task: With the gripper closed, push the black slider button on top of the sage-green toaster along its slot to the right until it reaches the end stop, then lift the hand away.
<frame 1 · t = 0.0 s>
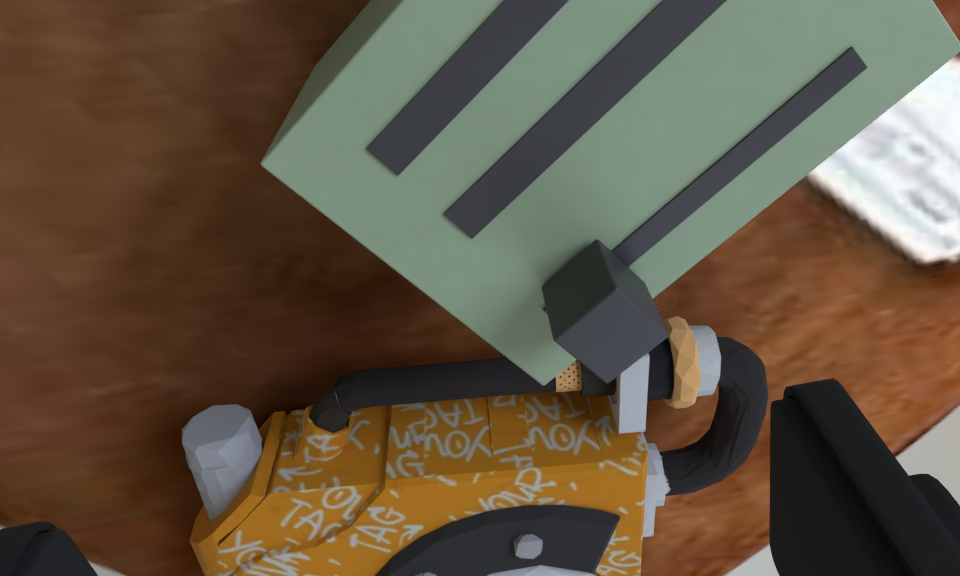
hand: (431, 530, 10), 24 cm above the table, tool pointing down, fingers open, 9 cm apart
device: (463, 460, 43), on the table
toaster: (554, 25, 30), on the table
slider: (601, 310, 22), point 13 cm above the table, slide at 0.0 cm
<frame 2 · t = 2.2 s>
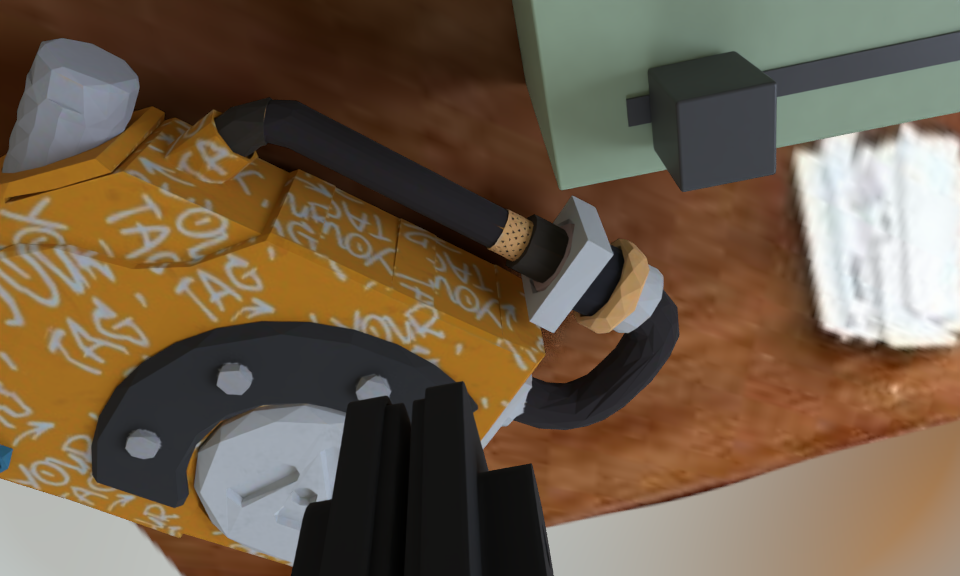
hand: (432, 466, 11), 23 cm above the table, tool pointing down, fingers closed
device: (312, 292, 37), on the table
slider: (709, 119, 19), point 13 cm above the table, slide at 0.0 cm
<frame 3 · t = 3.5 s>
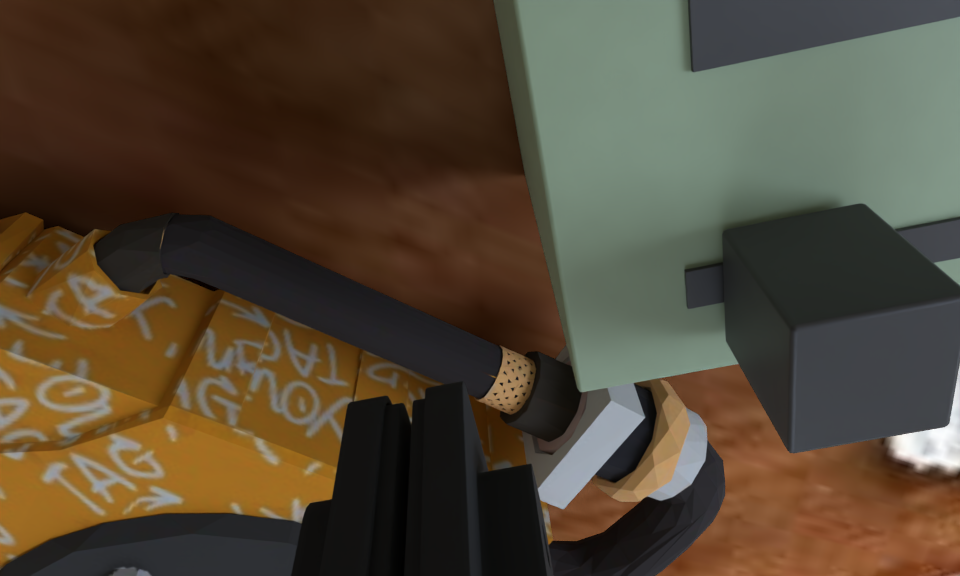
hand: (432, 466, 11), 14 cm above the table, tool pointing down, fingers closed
device: (256, 423, 29), on the table
slider: (828, 322, 12), point 13 cm above the table, slide at 0.0 cm
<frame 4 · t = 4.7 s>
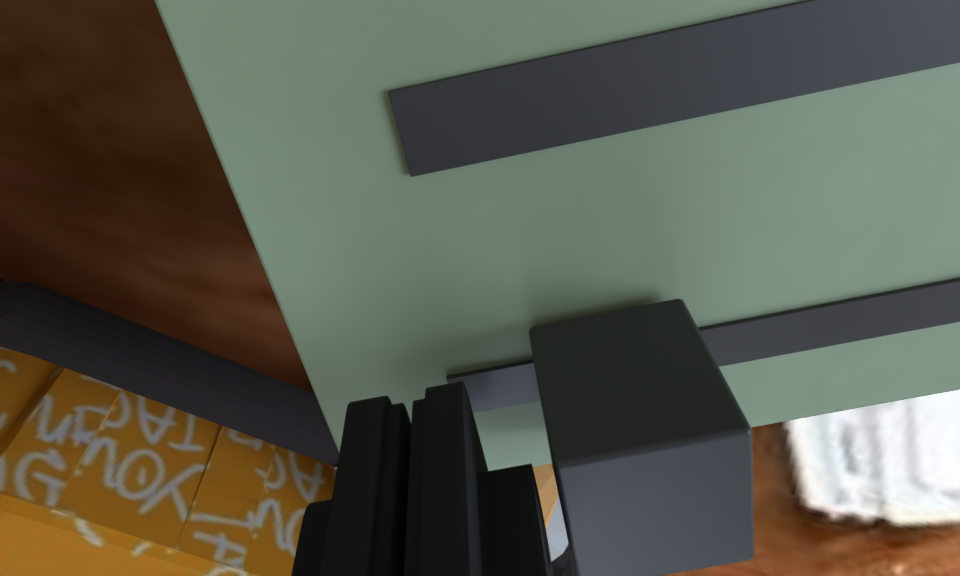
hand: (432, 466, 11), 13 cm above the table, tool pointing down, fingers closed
device: (136, 477, 28), on the table
slider: (633, 435, 11), point 13 cm above the table, slide at 0.9 cm, touching gripper
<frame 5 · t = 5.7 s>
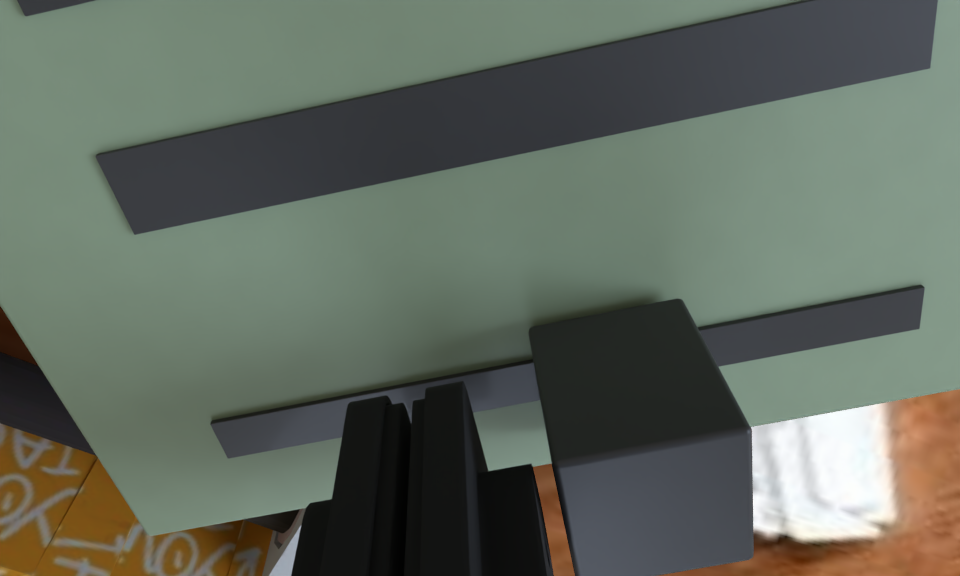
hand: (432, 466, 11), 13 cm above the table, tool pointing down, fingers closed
device: (36, 496, 28), on the table
slider: (633, 435, 11), point 13 cm above the table, slide at 4.8 cm, touching gripper
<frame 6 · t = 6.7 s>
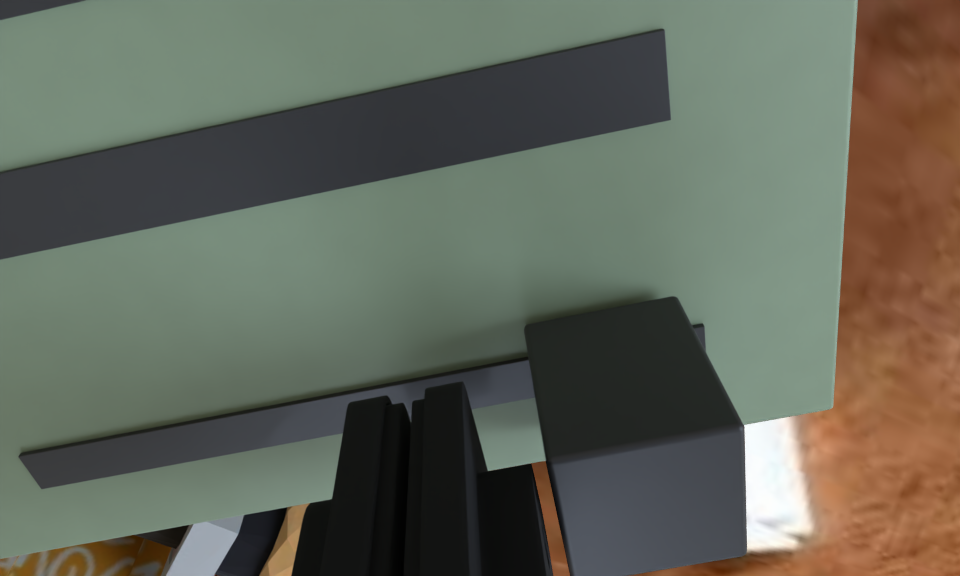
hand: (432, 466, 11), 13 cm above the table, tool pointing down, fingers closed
toaster: (355, 25, 20), on the table
slider: (627, 432, 11), point 13 cm above the table, slide at 8.2 cm, touching gripper
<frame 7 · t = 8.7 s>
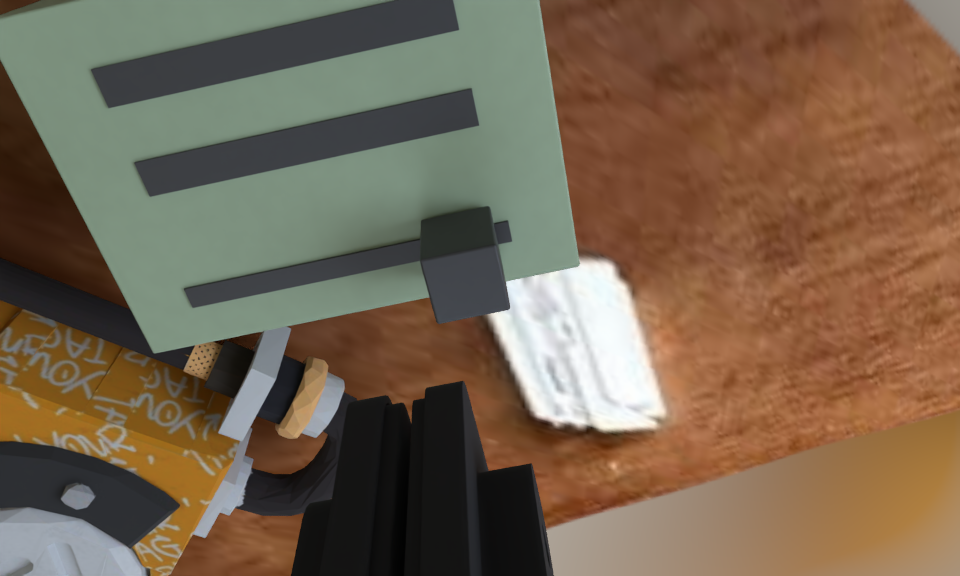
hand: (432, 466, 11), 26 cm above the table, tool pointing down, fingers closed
device: (72, 396, 42), on the table
toaster: (345, 73, 34), on the table
slider: (464, 263, 24), point 13 cm above the table, slide at 8.1 cm
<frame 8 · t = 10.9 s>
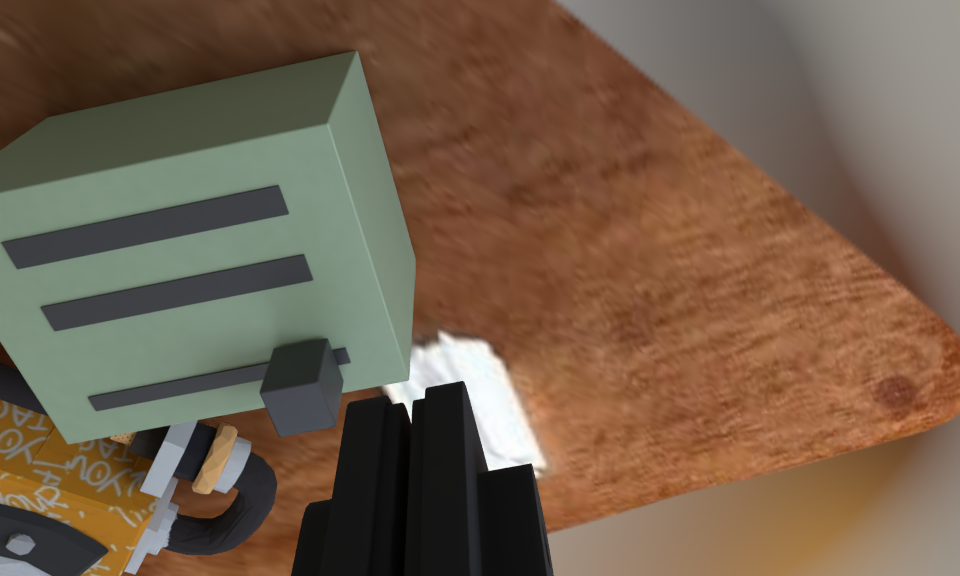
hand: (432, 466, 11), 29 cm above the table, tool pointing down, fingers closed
device: (25, 448, 48), on the table
toaster: (243, 193, 40), on the table
slider: (303, 386, 31), point 13 cm above the table, slide at 8.1 cm
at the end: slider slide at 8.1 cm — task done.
